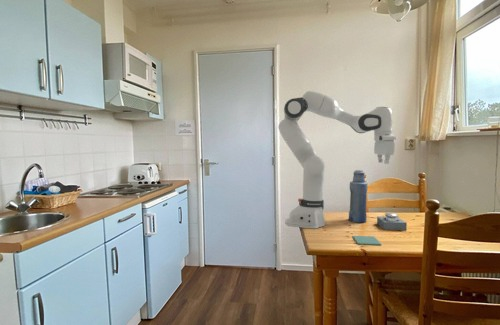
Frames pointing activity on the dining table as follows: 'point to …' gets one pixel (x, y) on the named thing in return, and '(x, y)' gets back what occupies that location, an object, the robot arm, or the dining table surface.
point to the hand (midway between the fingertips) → (383, 163)
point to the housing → (391, 224)
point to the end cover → (391, 216)
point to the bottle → (358, 197)
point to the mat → (366, 240)
